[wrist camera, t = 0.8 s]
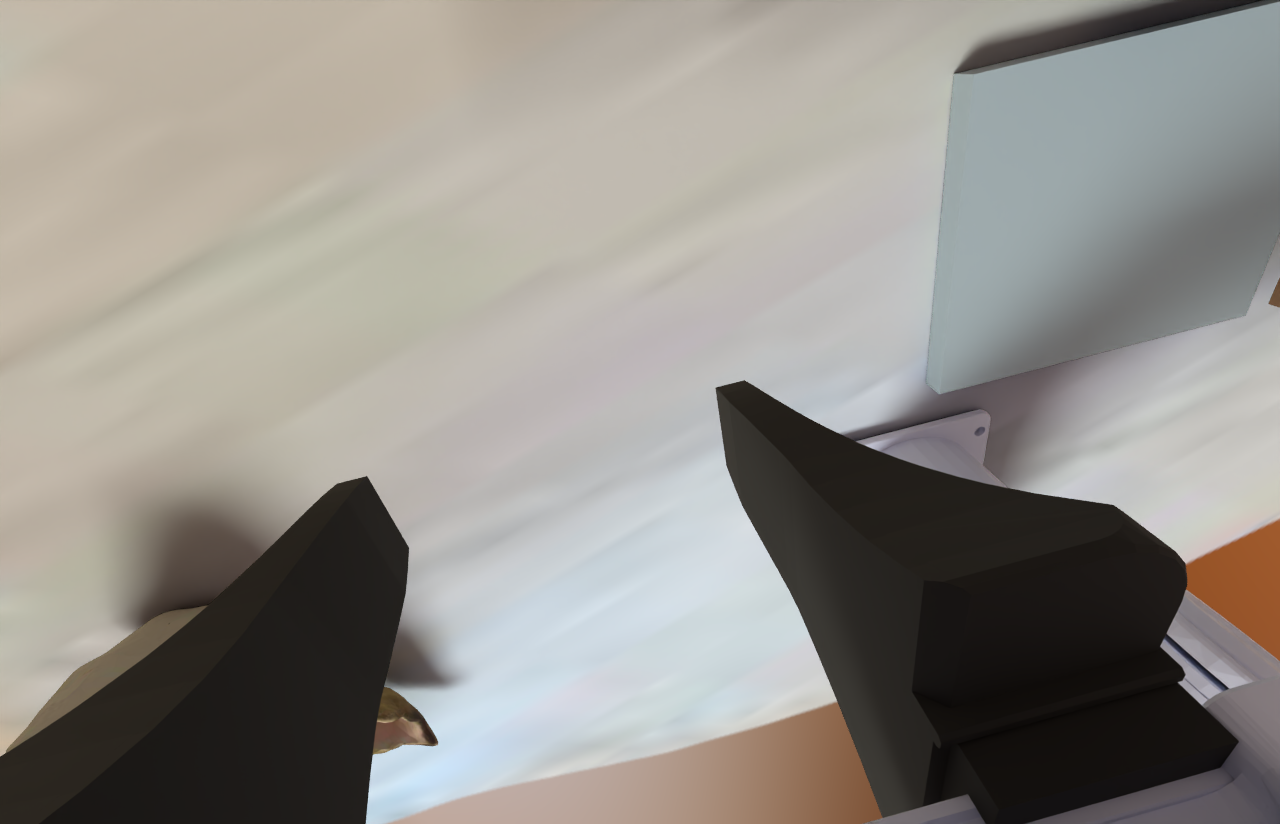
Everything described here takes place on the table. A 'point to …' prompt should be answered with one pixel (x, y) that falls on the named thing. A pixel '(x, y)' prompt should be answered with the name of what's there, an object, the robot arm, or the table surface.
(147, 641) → the ceramic sculpture
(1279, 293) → the walnut block
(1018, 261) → the board
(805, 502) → the robot arm
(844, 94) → the table surface
